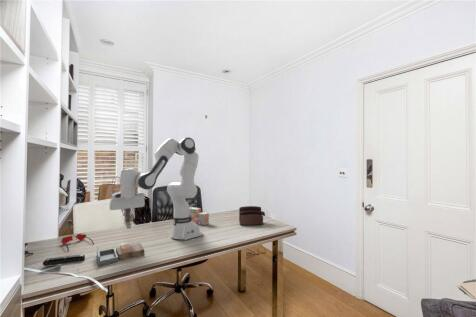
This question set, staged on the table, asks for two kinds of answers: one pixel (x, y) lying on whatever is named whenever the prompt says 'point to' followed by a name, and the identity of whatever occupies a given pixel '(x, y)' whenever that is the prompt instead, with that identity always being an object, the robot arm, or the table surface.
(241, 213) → the brown lidded box
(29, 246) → the table surface
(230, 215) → the table surface
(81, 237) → the glasses
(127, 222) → the grey block with handle
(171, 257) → the table surface
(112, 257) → the box
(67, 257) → the portable electronic device stand
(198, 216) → the stack of blocks
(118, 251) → the brown square slab
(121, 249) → the tile
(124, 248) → the tile
